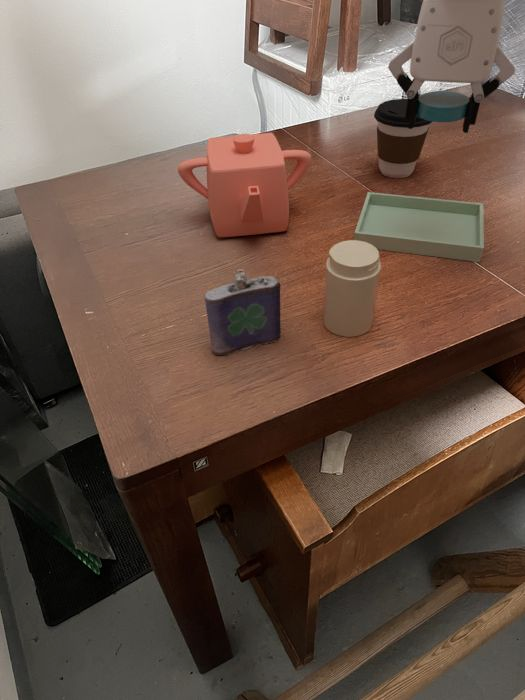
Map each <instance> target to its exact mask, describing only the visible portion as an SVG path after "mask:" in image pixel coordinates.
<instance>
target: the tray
mask: <svg viewBox="0 0 525 700" xmlns="http://www.w3.org/2000/svg"><path fill="white" fill-rule="evenodd" d="M365 196H366V197H365V199H364V202H363V206H362V209H361V211H360V214H359V217H358V221H357V224H356V227H355V229H354V234H353V240H358V241H364V242H367V243H369V244H371V245H373V246H374V247H376V248H377V250H378V251H379V250H380V251H386V252H394V253H403V254H411V255H419V256H425V257H426V256H429V257H435V258H442V259H451V260H459V261H466V262H475V263H480V262H481V260H482V256H483V253H484V251H485V222H484V220H485V217H484V216H485V215H484V203H483V202H473V201H463V200H462V201H461V200H452V199H443V198H442V199H441V198H433V197H432V198H431V197H423V196H413V195H401V194H391V193H384V192H383V193H382V192H373V191H368V192H367V194H366V195H365Z"/></svg>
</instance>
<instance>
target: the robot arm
mask: <svg viewBox="0 0 525 700" xmlns="http://www.w3.org/2000/svg"><path fill="white" fill-rule="evenodd" d="M505 4H506V0H422V3H421V6H420V11H419V15H418V19H417V24H416V29H415V35H414V40H413V42H412V43H411V44H409V45H408V46H407V47H406V48H404V49H403V50H402V51H401V52H400V53H398V55H396V56H395V57H394V58H392V60H391V61H389V63H388V67H387V68H388V70H389V72H390V73H391V74H392V76H393V78H394V79H395V80H396V81H397V84H398V86H399V87H400V88H401V90H402V91H403V92H404V93H405V96H406V99H408V102H407V108H406V115H405V120H410V121H409V127H408V129H412V128H414V124H415V119H416V111H417V105H418V99H419V96H420V95H421V94H419V91H420V89H421V87H422V86H423V84H424V83H425V82H435V83H436V82H439V83H456V84H459V83H461V84H470V88H471V95H470V96H469V97H468V98H469V104H468V109H467V113H466V116H465V118H463V122H462V133H463V134H469V130H470V126H475V125H476V122H477V121H476V120H477V118H478V113H479V108H480V105H481V103H482V102H483V101H484V99H486V98H487V97H488V96H490V95H491V94H492V93H494V92H495V91H496V90H498V88H499V87H500V86H501V85H502V84H504V83H505V82H506V81H507V80H508V79H509V78H511V77H512V76H513V75H515V72H516V68H515V66H514V64H513V63H512V62H511V60H510V59H509V58H508V57H507V55H506V54H505V53H504V52H503V50H502V49H501V47H500V46H499V45H498V44H499V40H500V35H501V29H502V25H503V18H504V13H505V6H506V5H505ZM409 60H410V63H409V75H410V76H411V77H412V78H413V79H411V78H410V76H409V75H408V74H407V72H405V70H404V68H403V65H405V63H407V62H408V61H409ZM494 63H495V65H496V67H498V69H499V70H498V72H497V73H496V74H495V75H493V76H492V77H491V78H490V75H491V73H492V70H493V66H494ZM486 80H487V81H486ZM483 82H484V83H483Z"/></svg>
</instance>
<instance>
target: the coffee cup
mask: <svg viewBox="0 0 525 700" xmlns="http://www.w3.org/2000/svg"><path fill="white" fill-rule="evenodd" d="M407 102H408V98H393V99H390V100H385V101H383V102H381V103H379V104H378V106H377V108H376V109H375V112H374V114H373V118H374V119H375V121H376V122H377V126H376V143H377V144H376V145H377V157H378V168H379V171H380V173H381V175H383V176H385V177H387V178H392V179H404V178H408V177H410V176H411V175H412V174H413V172H414V170H415V169H416V164H417V162H418V160H419V159H420V156H421V153H422V150H423V146H424V145H425V141H426V139H427V135H428V132H429V129H430V125H431V124H432V123H433V121H428V120H424V119H422V118H420V117H419V116H417V114H416V119H415V124H414V128H412V129H408V127H409V121H410V120H405V115H406V108H407Z"/></svg>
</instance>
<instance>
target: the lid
mask: <svg viewBox="0 0 525 700" xmlns="http://www.w3.org/2000/svg"><path fill="white" fill-rule="evenodd" d="M468 104H469V97H468V96H467V95H465V94H463V93H461V92H457V91H449V90H435V91H428V92H425V93H423V94H420V95H419V99H418V105H417V111H416V114H417V116H419V117H420V118H422V119H424V120H428V121H433V122H434V123H453V122H457V121H461V120H464V118H465V116H466V113H467V109H468ZM433 122H432V123H433Z"/></svg>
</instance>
